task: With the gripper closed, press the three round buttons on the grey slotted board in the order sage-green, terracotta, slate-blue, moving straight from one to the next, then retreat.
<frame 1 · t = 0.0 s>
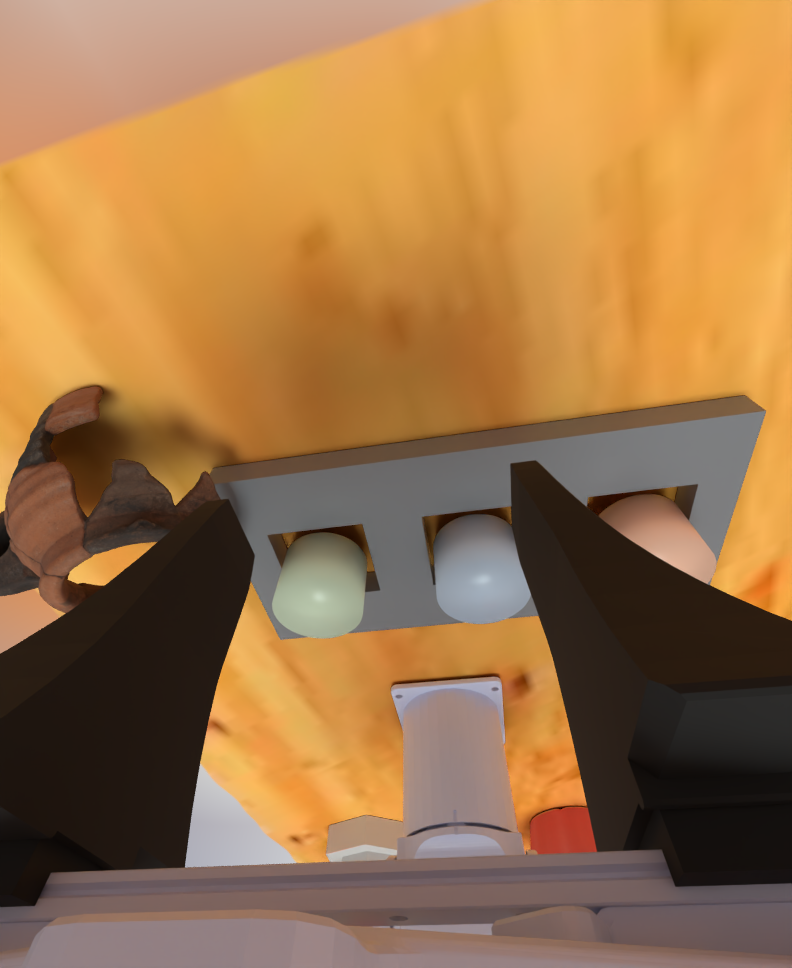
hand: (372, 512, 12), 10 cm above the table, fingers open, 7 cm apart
terracotta button: (648, 551, 22), point 3 cm above the table, slide at 0.0 cm
decorative lighthouse: (372, 831, 52), on the table
flower pot: (567, 818, 49), on the table
sage button: (322, 585, 24), point 3 cm above the table, slide at 0.0 cm
slate button: (479, 568, 23), point 3 cm above the table, slide at 0.0 cm
grey slotted board: (472, 528, 26), on the table
brown curved piece: (132, 477, 24), on the table, touching grey slotted board
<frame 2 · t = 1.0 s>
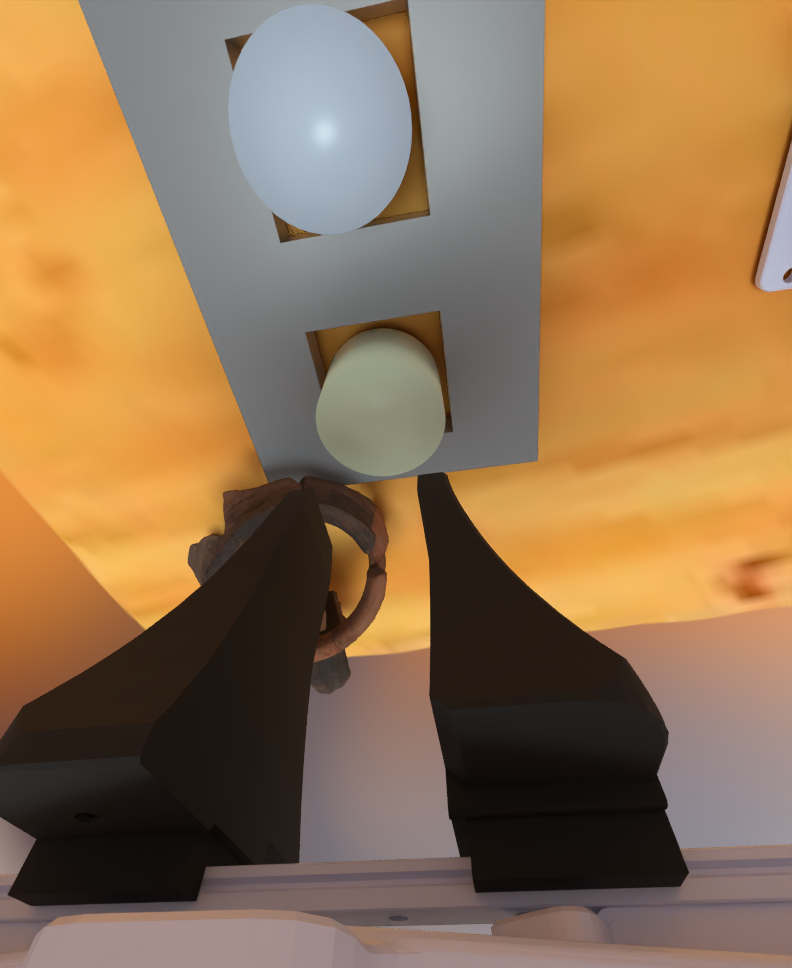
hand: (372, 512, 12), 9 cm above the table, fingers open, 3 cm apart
sage button: (382, 402, 17), point 3 cm above the table, slide at 0.0 cm
slate button: (329, 133, 13), point 3 cm above the table, slide at 0.0 cm
grey slotted board: (341, 135, 15), on the table
brown curved piece: (305, 540, 26), on the table, touching grey slotted board
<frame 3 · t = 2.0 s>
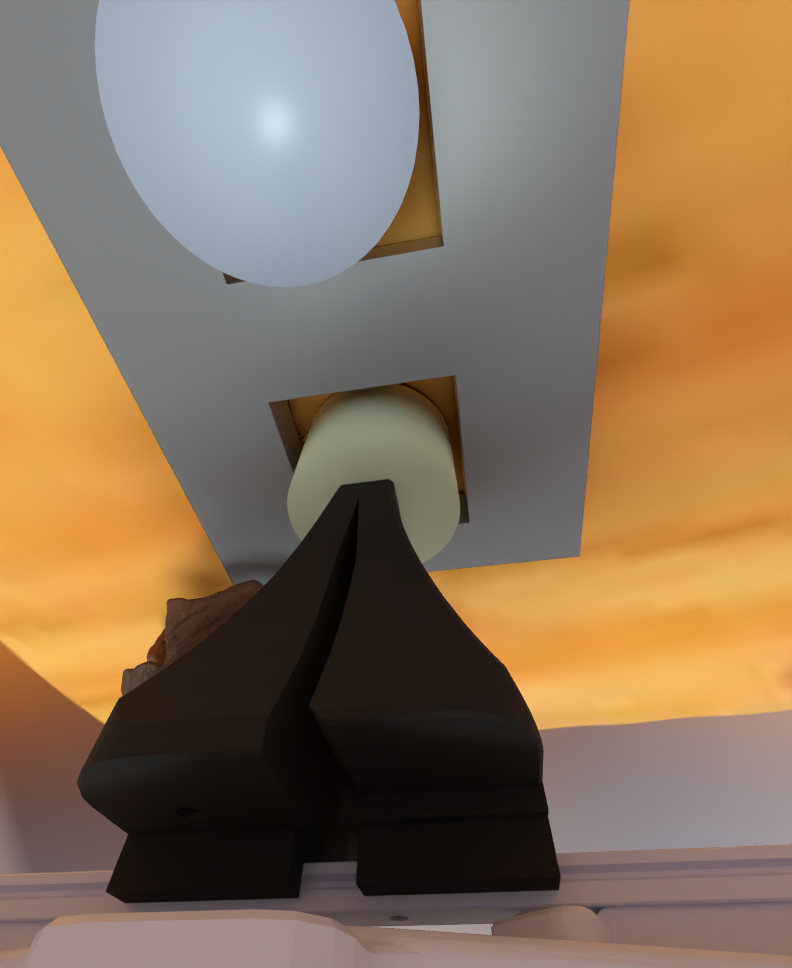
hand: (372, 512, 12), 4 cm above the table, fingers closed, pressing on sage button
sage button: (376, 477, 13), point 2 cm above the table, slide at 1.0 cm, touching gripper
slate button: (285, 124, 8), point 3 cm above the table, slide at 0.0 cm
grey slotted board: (313, 129, 10), on the table
brown curved piece: (284, 629, 21), on the table, touching grey slotted board
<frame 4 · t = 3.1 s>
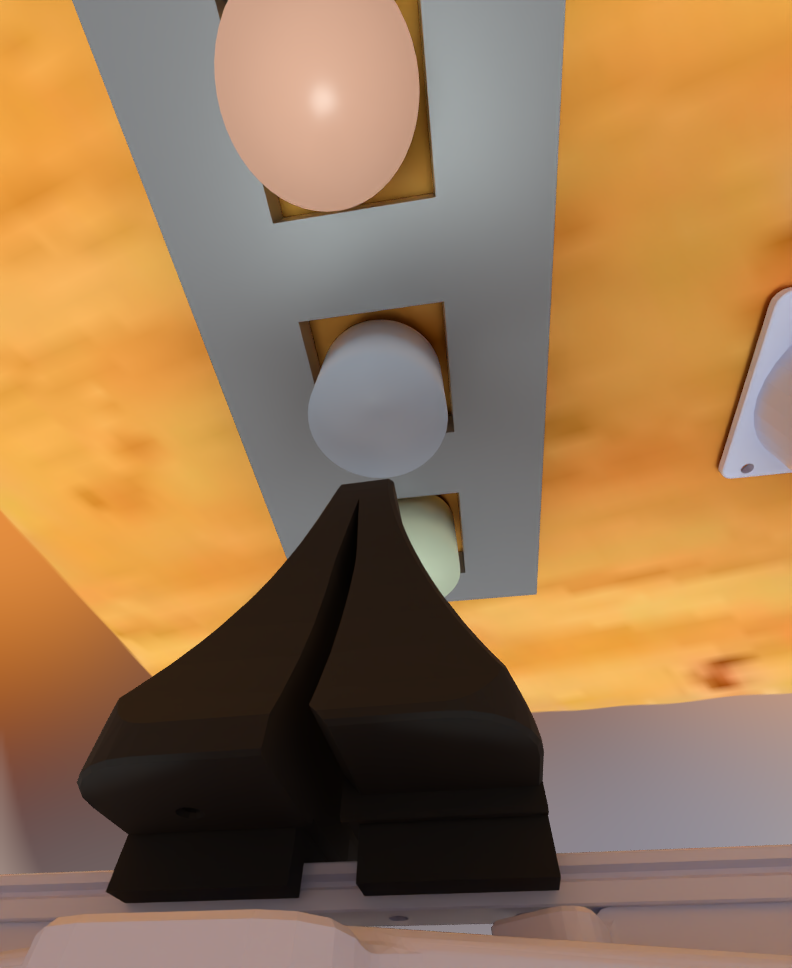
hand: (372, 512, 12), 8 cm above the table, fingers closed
terracotta button: (327, 100, 11), point 3 cm above the table, slide at 0.0 cm
sage button: (408, 547, 22), point 2 cm above the table, slide at 1.0 cm
slate button: (380, 398, 16), point 3 cm above the table, slide at 0.0 cm
grey slotted board: (383, 365, 18), on the table
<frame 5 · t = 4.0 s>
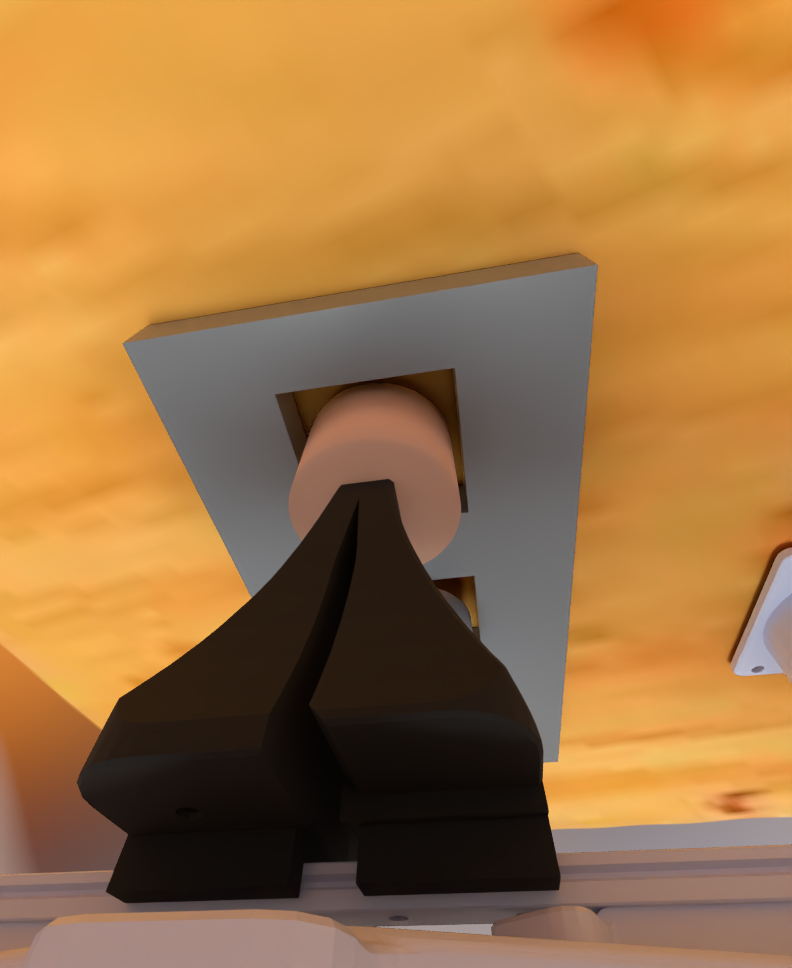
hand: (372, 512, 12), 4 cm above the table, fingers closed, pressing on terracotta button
terracotta button: (377, 478, 13), point 3 cm above the table, slide at 0.4 cm, touching gripper
slate button: (416, 658, 18), point 3 cm above the table, slide at 0.0 cm
grey slotted board: (415, 596, 20), on the table
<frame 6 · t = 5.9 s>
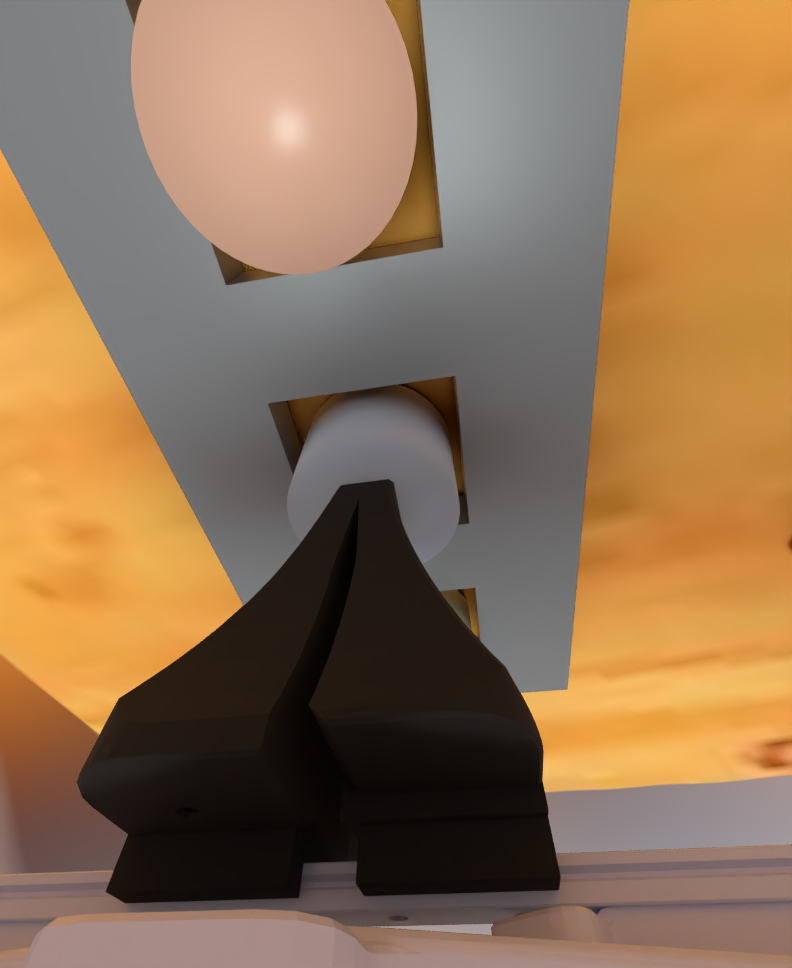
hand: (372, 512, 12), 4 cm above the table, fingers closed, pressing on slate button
terracotta button: (296, 127, 9), point 2 cm above the table, slide at 1.0 cm
sage button: (415, 648, 18), point 2 cm above the table, slide at 1.0 cm
slate button: (376, 478, 13), point 2 cm above the table, slide at 1.0 cm, touching gripper
grey slotted board: (379, 442, 15), on the table
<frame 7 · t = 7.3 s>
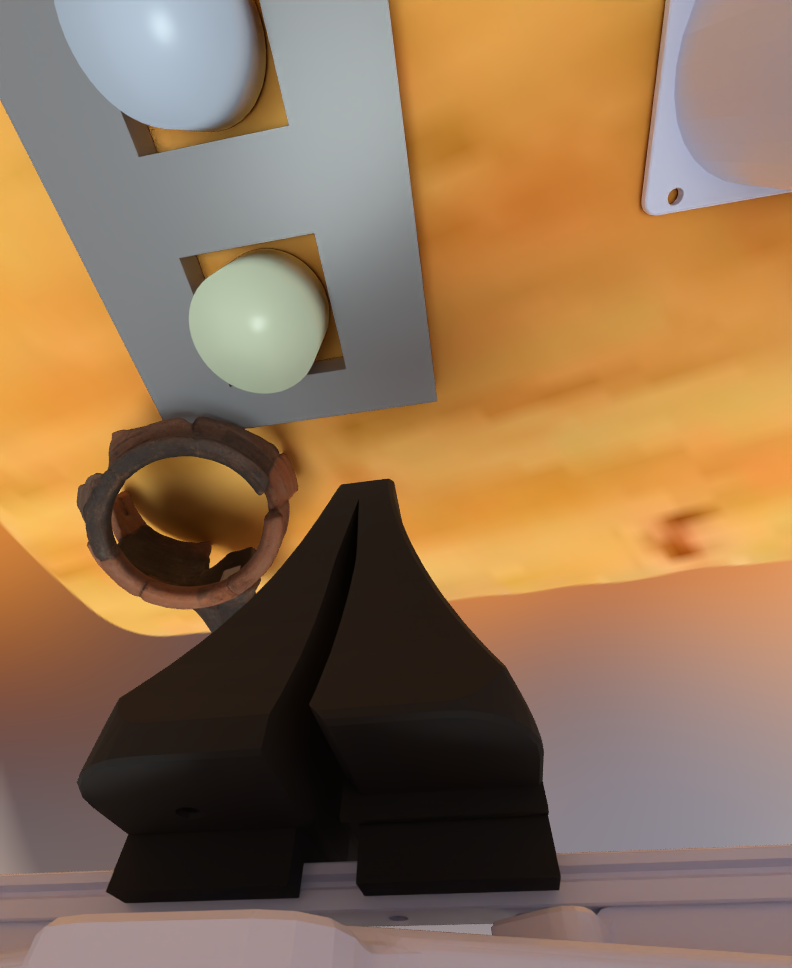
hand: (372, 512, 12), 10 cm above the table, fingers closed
sage button: (265, 321, 18), point 2 cm above the table, slide at 1.0 cm
slate button: (171, 30, 13), point 2 cm above the table, slide at 1.0 cm
grey slotted board: (197, 43, 15), on the table
brown curved piece: (222, 494, 25), on the table, touching grey slotted board
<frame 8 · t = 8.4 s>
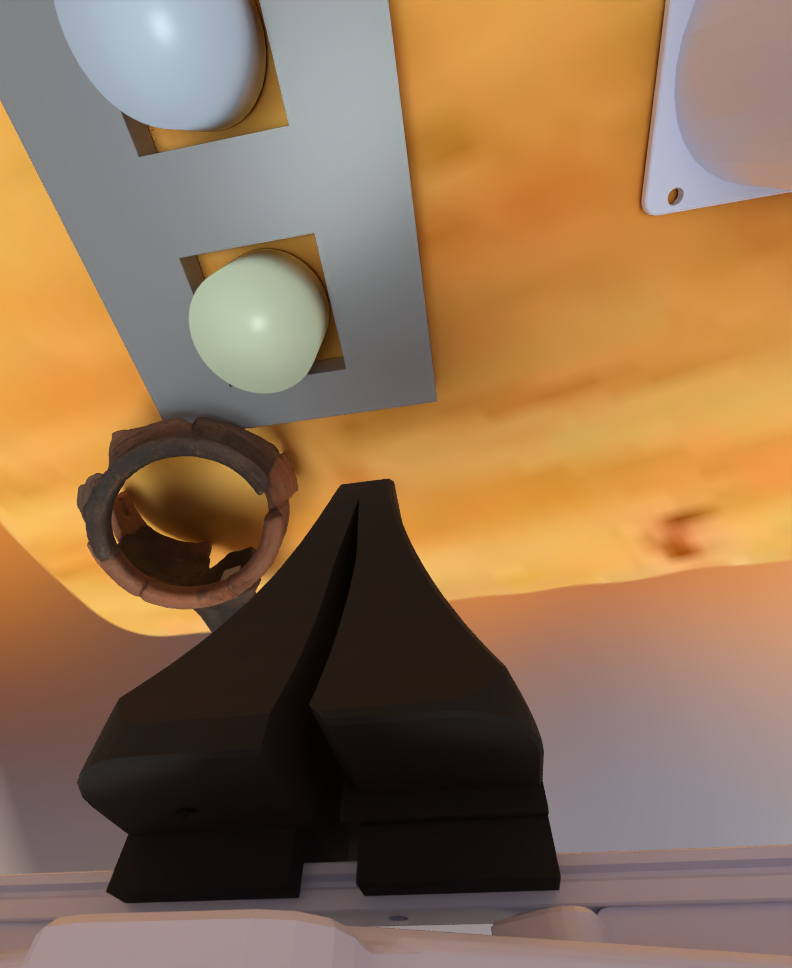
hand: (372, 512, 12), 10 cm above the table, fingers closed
sage button: (265, 321, 18), point 2 cm above the table, slide at 1.0 cm
slate button: (171, 30, 13), point 2 cm above the table, slide at 1.0 cm
grey slotted board: (197, 43, 15), on the table
brown curved piece: (222, 494, 25), on the table, touching grey slotted board
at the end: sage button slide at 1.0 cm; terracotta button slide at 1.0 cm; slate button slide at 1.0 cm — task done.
